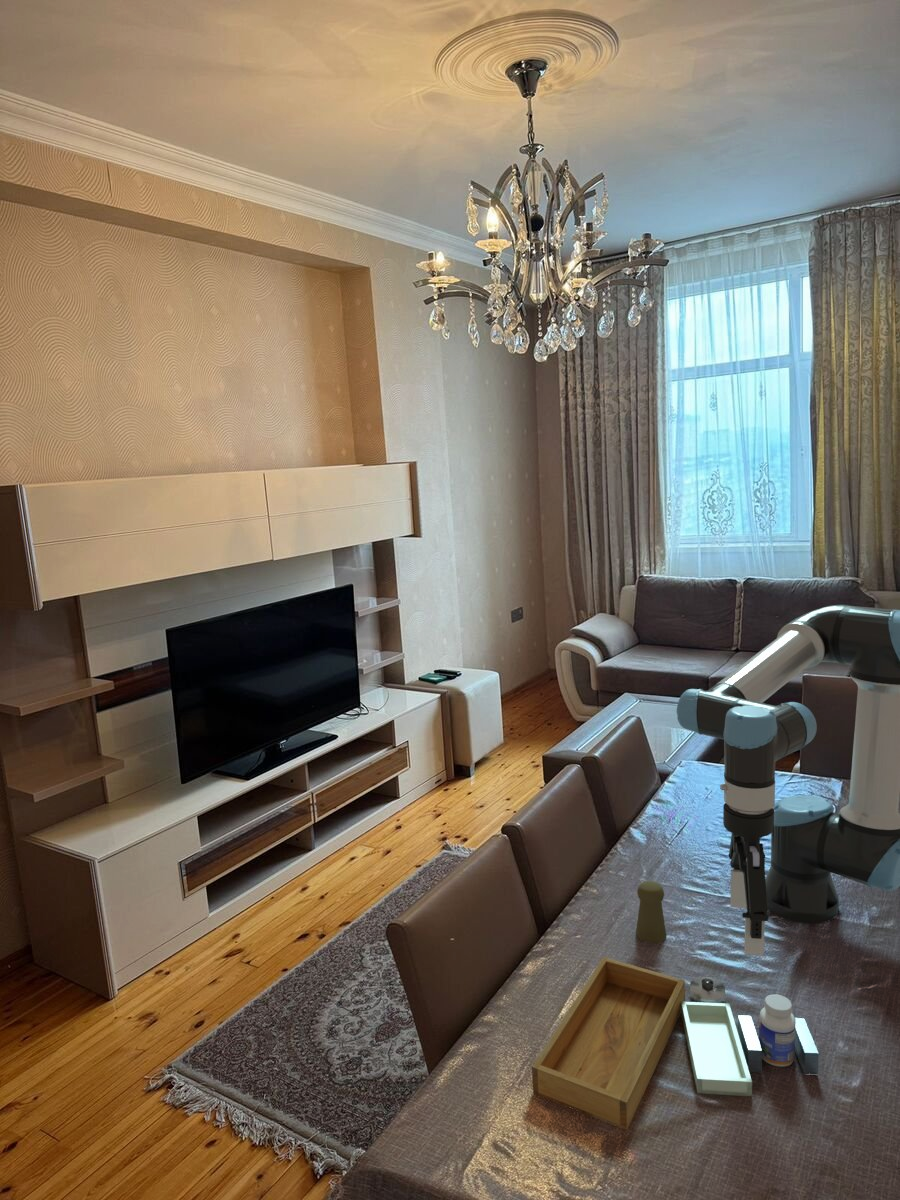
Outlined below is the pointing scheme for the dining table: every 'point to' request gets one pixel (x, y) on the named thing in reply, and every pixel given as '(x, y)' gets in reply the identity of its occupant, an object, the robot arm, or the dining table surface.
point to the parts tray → (715, 1049)
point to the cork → (650, 913)
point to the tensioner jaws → (753, 1050)
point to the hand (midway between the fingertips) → (746, 929)
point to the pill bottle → (777, 1031)
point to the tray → (610, 1042)
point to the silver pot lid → (707, 990)
